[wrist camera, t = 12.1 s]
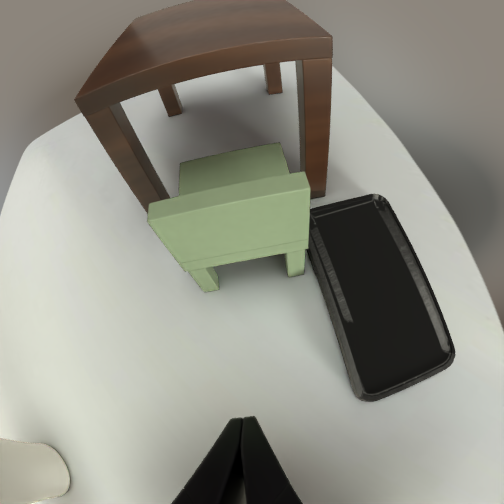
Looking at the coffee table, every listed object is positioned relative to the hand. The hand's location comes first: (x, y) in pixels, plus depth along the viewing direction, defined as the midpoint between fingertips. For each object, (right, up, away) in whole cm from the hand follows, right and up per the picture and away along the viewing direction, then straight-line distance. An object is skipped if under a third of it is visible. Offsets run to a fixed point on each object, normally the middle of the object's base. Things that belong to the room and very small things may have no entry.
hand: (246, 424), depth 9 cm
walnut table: (-2, +18, +21) cm, 28 cm away
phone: (+9, +3, +11) cm, 15 cm away
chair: (0, +7, +15) cm, 17 cm away
